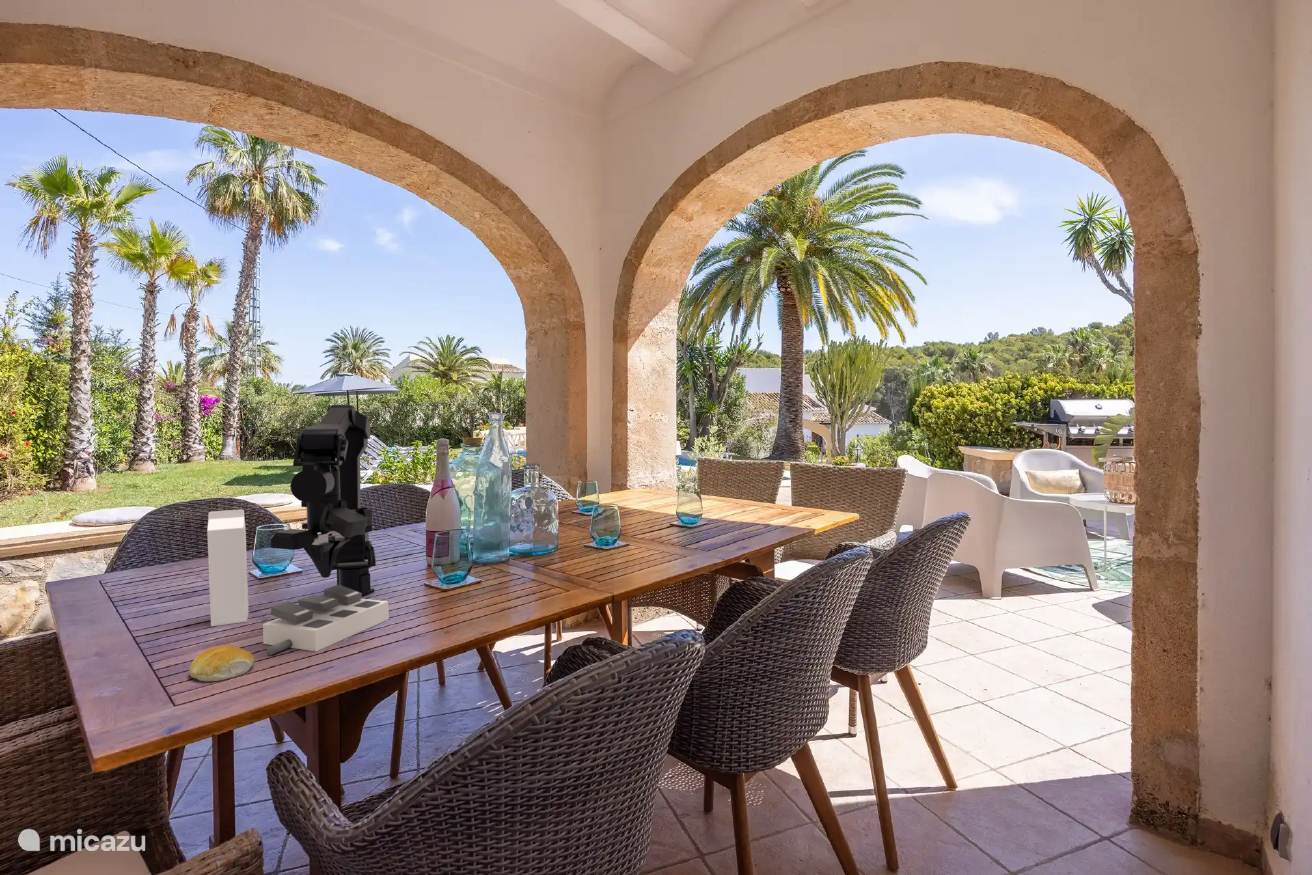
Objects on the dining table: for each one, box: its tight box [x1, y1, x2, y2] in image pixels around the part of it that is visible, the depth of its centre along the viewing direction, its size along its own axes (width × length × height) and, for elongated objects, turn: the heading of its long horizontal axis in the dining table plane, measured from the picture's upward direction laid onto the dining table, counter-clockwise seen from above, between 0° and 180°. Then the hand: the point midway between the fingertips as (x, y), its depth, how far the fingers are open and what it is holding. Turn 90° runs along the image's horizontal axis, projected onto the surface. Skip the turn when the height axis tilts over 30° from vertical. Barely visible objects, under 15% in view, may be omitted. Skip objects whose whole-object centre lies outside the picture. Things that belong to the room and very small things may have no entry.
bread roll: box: [188, 644, 255, 683], centre depth 106 cm, size 8×9×4 cm
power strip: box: [262, 597, 390, 656], centre depth 122 cm, size 12×22×4 cm, turn 162°
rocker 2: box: [322, 584, 363, 605], centre depth 130 cm, size 6×4×2 cm, turn 72°
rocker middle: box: [297, 594, 338, 612], centre depth 125 cm, size 6×4×2 cm, turn 72°
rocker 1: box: [270, 601, 313, 624], centre depth 119 cm, size 6×4×2 cm, turn 72°
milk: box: [206, 509, 249, 627], centre depth 130 cm, size 6×6×22 cm
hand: (325, 577), depth 124 cm, fingers closed
